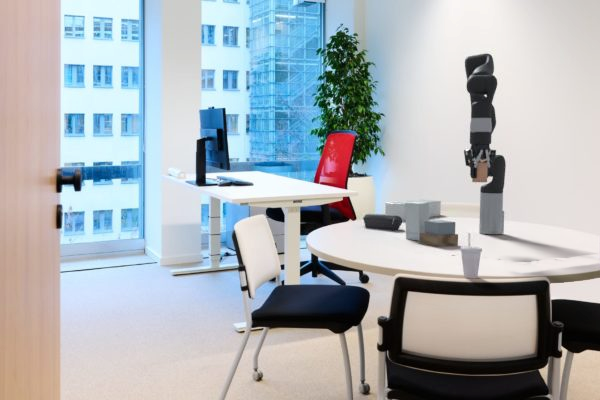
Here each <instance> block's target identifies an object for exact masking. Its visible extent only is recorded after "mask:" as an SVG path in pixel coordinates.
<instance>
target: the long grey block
mask: <svg viewBox="0 0 600 400" xmlns="http://www.w3.org/2000/svg"><path fill="white" fill-rule="evenodd" d="M441 201H442V200H433V199H431V200H430V199H416V200H415V199H414V200H413V199H412V200H403V201H401V200H400V201H390V202H388V201H387V202H385V207H384V208H385V213H384V214H387V215H397V216H400V217H401V218H402V221H403V222H405V221H404V220H406V213H405V203H410V202H424V203H429V215H430V217H437V216H438V217H439V216H441V207H442V205H441V204H442V202H441Z"/></svg>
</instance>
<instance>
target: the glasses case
mask: <svg viewBox="0 0 600 400" xmlns="http://www.w3.org/2000/svg"><path fill="white" fill-rule="evenodd" d="M362 219H363V223H364V227H365V228H366V229H367V228H368V229H376V228H378V230H388V229H389V231H390V230H391V231H399V229H400V227H401V226H402V224H403V222H404V221H402V218H401V217H400V216H397V215H387V214H385V213H384V214H381V213H366V214H365V215H364V216H363V217H362Z"/></svg>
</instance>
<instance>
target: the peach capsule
mask: <svg viewBox="0 0 600 400" xmlns="http://www.w3.org/2000/svg"><path fill="white" fill-rule="evenodd" d="M473 164H474V163H473ZM476 168H477V178H471V182H472V183H488V178H487V168H488V163H478V164H477V167H476Z"/></svg>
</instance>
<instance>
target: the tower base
mask: <svg viewBox="0 0 600 400" xmlns="http://www.w3.org/2000/svg"><path fill="white" fill-rule="evenodd" d="M418 242H419V244H420V245H422V246H423V245H424V246H430V247H434V248H442V247H443V248H444V247H456V246H457V247H458V245H459V234H458V233H455V234H449V235H434V234H429V233H424V232H422V233H420V238H419V241H418Z"/></svg>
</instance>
